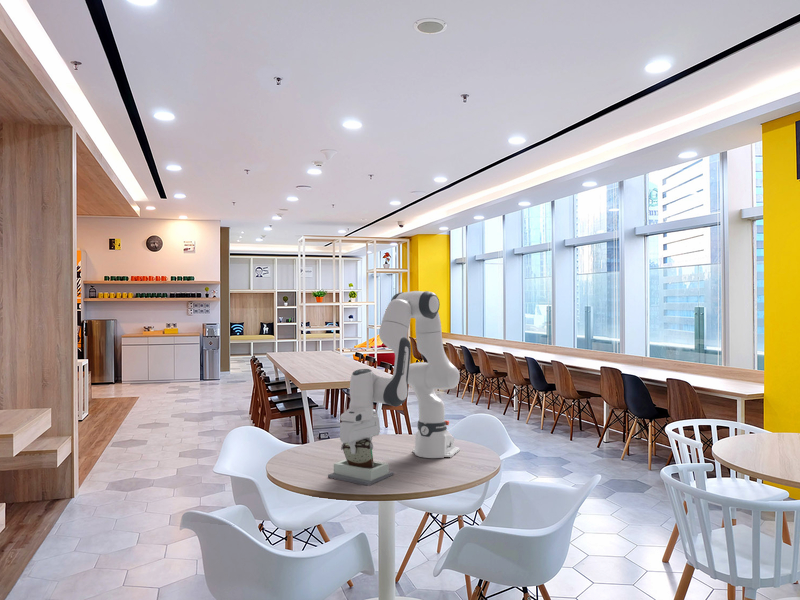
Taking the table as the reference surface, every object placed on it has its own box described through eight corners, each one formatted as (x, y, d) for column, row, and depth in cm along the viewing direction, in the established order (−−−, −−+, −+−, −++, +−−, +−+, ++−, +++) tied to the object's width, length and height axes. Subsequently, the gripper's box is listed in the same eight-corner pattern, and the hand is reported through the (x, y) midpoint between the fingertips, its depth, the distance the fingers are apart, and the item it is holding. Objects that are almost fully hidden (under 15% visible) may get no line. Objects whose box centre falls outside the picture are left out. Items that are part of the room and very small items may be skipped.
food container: (382, 458, 202) (376, 435, 200) (377, 468, 197) (371, 444, 194) (351, 458, 206) (346, 436, 203) (346, 468, 201) (340, 445, 198)
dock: (355, 467, 211) (355, 455, 211) (393, 474, 201) (393, 462, 201) (328, 477, 197) (328, 464, 197) (368, 485, 187) (368, 472, 188)
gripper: (370, 409, 210) (370, 445, 209) (337, 416, 193) (336, 455, 192) (384, 410, 207) (383, 447, 206) (351, 418, 189) (350, 458, 189)
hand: (360, 451), depth 199 cm, fingers open, 7 cm apart
